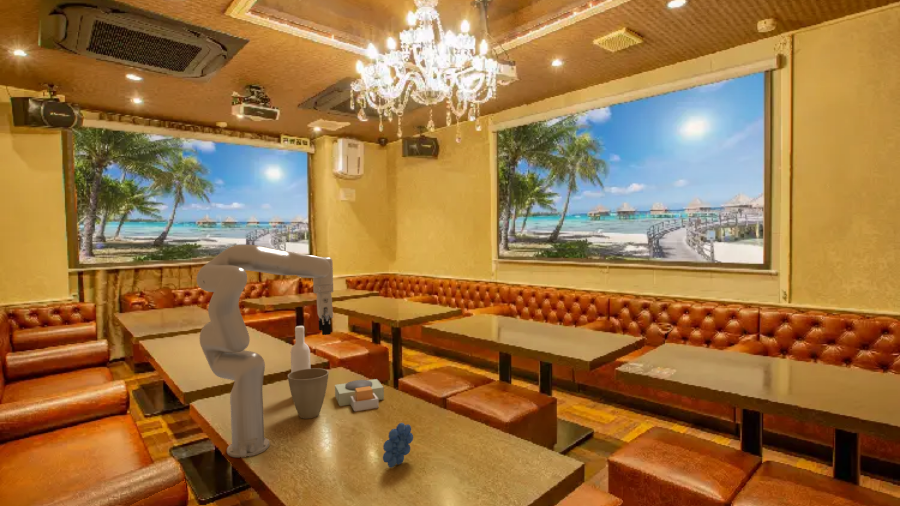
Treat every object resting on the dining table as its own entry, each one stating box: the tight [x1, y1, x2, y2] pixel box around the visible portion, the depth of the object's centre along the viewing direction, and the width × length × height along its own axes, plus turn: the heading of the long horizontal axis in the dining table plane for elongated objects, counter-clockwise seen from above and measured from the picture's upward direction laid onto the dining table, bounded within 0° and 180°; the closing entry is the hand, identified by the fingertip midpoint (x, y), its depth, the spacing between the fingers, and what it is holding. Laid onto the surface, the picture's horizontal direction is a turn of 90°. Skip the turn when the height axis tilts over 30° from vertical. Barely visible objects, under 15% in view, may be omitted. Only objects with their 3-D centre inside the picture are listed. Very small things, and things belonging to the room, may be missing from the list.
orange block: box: [355, 386, 373, 401], centre depth 184 cm, size 4×6×7 cm
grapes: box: [382, 422, 414, 468], centre depth 138 cm, size 12×7×12 cm, turn 140°
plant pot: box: [287, 367, 329, 420], centre depth 176 cm, size 15×15×16 cm
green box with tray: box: [334, 378, 385, 412], centre depth 190 cm, size 20×18×6 cm
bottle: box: [290, 325, 311, 373], centre depth 196 cm, size 8×8×30 cm
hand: (324, 332), depth 181 cm, fingers open, 9 cm apart
